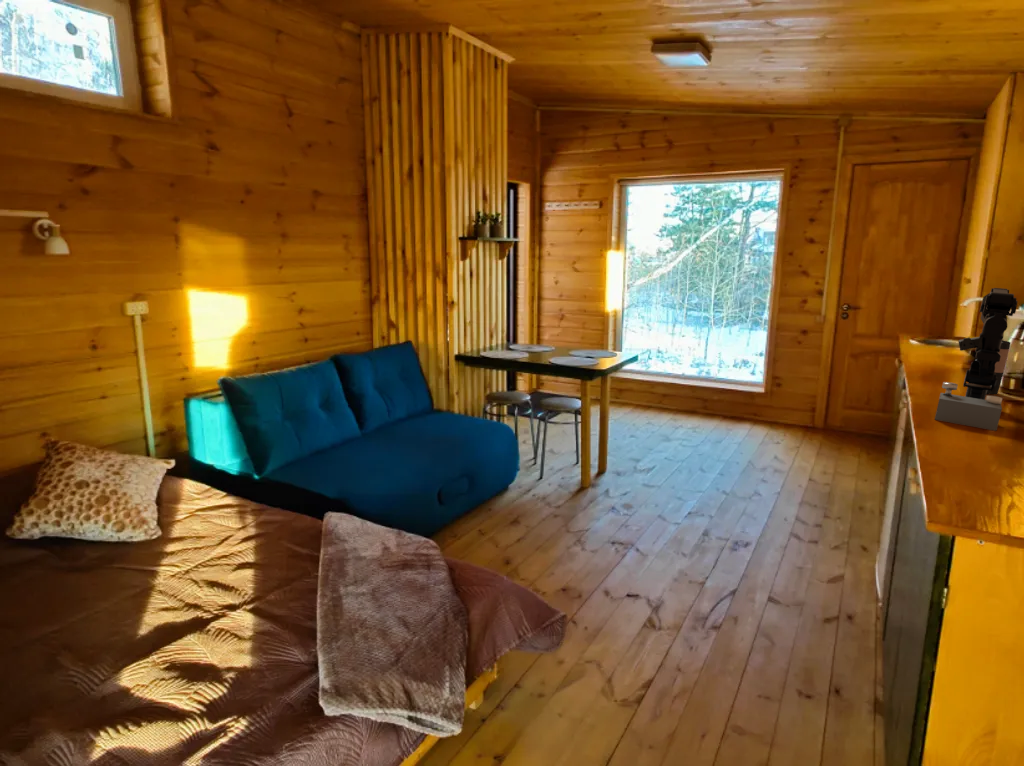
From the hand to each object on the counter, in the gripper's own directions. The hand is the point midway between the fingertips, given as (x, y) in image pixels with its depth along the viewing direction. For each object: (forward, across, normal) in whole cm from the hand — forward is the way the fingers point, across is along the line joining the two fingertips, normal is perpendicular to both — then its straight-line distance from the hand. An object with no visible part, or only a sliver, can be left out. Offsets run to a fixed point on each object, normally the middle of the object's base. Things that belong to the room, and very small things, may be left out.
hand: (981, 377), depth 213 cm
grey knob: (+5, +14, -8) cm, 17 cm away
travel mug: (+12, -41, +4) cm, 43 cm away
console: (+12, +16, -2) cm, 20 cm away
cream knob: (+7, +14, +4) cm, 16 cm away
